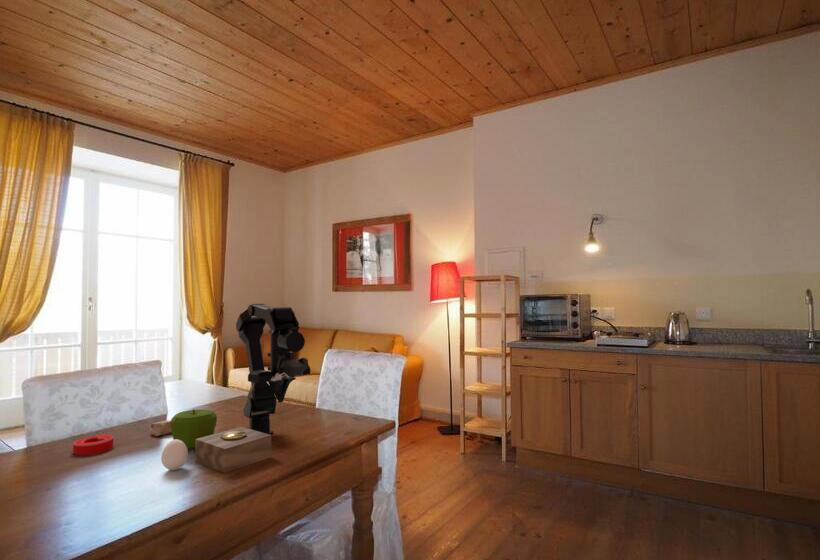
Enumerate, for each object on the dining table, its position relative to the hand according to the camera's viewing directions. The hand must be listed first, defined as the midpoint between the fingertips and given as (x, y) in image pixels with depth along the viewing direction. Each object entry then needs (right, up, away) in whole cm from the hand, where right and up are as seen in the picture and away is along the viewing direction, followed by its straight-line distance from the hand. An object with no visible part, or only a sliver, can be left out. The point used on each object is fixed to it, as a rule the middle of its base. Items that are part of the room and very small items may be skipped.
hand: (280, 402), depth 134 cm
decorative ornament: (-55, -14, -1) cm, 57 cm away
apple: (-26, -14, 0) cm, 29 cm away
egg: (-22, -13, -18) cm, 31 cm away
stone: (-41, -15, +16) cm, 47 cm away
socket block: (-10, -13, -11) cm, 19 cm away
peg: (-10, -13, -11) cm, 19 cm away
